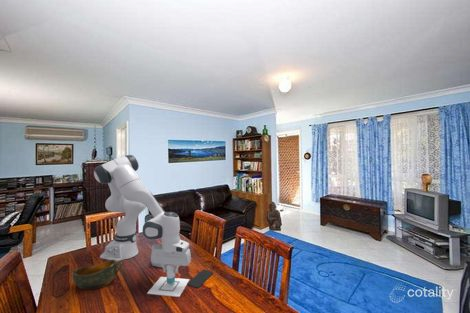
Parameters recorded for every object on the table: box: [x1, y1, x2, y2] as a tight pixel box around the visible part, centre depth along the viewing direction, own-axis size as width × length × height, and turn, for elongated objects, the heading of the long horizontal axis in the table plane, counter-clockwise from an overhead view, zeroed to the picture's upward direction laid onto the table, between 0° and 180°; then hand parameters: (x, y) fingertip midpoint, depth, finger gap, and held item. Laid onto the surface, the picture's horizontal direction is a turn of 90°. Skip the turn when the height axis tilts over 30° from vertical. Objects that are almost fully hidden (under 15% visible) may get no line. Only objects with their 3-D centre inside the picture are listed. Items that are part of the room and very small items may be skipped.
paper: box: [146, 276, 190, 298], centre depth 100 cm, size 16×13×1 cm
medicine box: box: [151, 262, 167, 268], centre depth 120 cm, size 8×4×9 cm, turn 71°
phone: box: [186, 269, 214, 289], centre depth 107 cm, size 7×1×15 cm
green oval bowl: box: [71, 260, 124, 290], centre depth 102 cm, size 13×20×10 cm, turn 79°
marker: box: [166, 264, 176, 284], centre depth 102 cm, size 4×4×10 cm
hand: (170, 272), depth 102 cm, fingers closed on marker, 4 cm apart
